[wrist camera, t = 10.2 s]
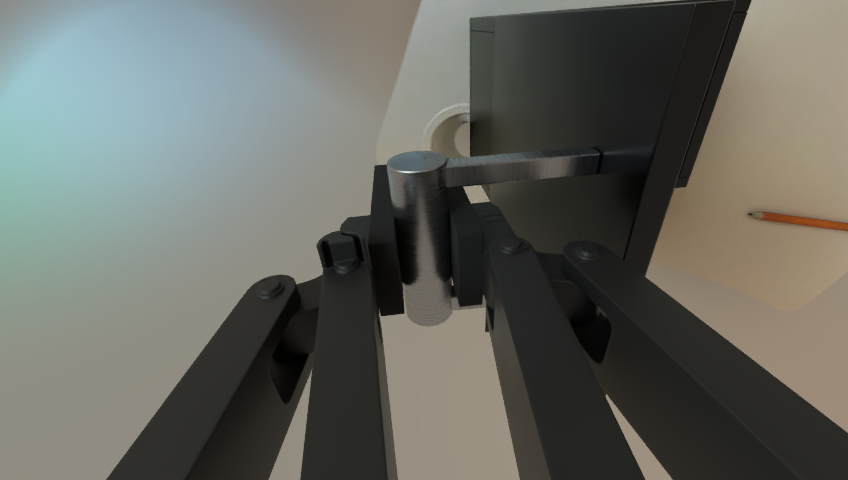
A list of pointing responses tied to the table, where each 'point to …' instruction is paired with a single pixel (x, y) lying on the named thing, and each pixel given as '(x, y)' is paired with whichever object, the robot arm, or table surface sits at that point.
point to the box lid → (568, 139)
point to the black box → (485, 26)
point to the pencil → (800, 220)
